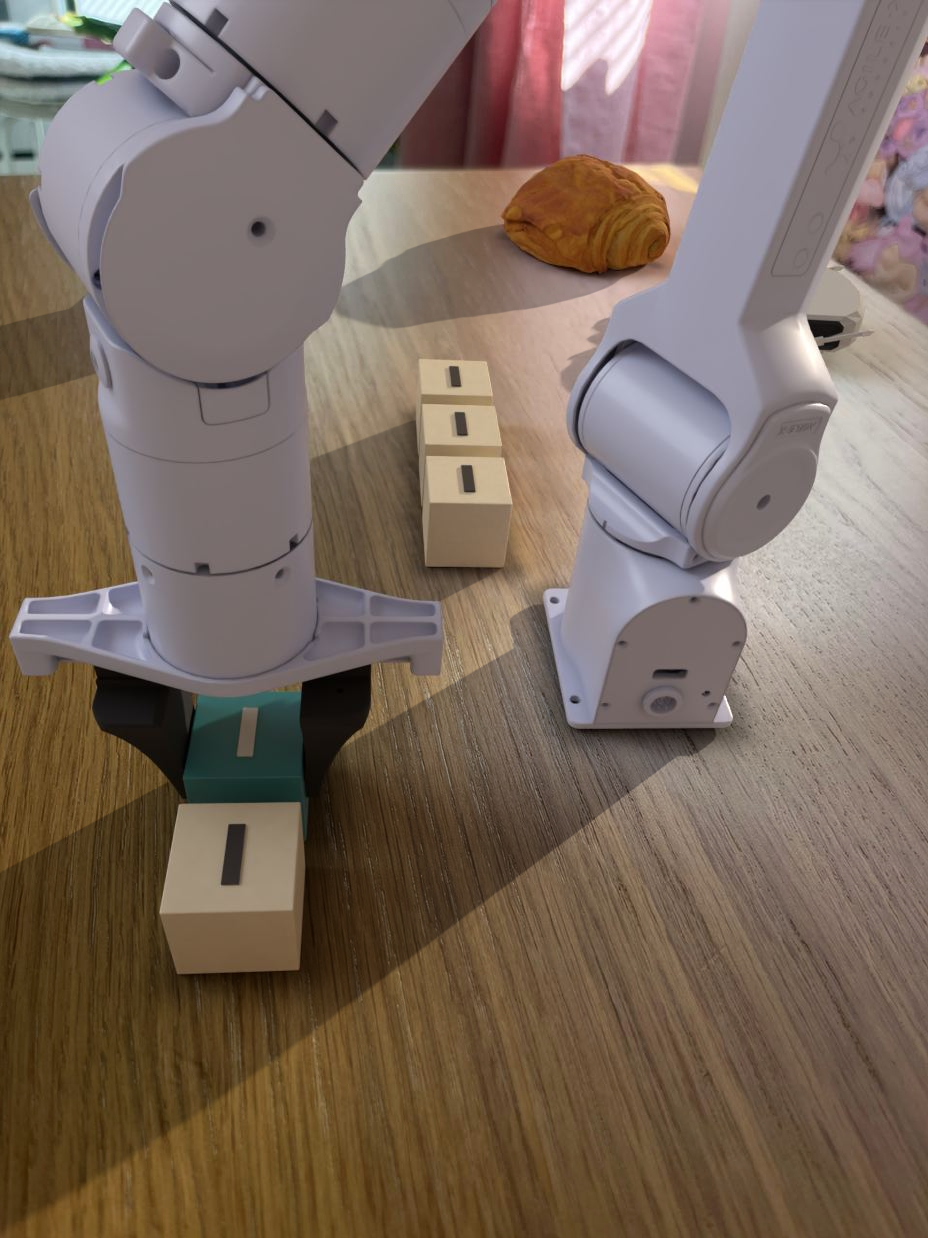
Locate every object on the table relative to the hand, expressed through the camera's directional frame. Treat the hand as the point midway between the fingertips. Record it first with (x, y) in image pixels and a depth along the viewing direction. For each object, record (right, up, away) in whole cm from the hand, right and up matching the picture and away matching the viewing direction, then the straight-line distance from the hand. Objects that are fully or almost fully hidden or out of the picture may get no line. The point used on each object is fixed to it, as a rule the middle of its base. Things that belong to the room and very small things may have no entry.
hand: (254, 778), depth 39 cm
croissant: (+19, +41, +48) cm, 67 cm away
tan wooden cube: (+8, +15, +19) cm, 25 cm away
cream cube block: (+8, +19, +23) cm, 30 cm away
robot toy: (+32, +30, +37) cm, 58 cm away
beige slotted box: (0, -5, -3) cm, 6 cm away
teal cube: (0, -1, +1) cm, 1 cm away
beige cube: (+9, +11, +15) cm, 20 cm away
